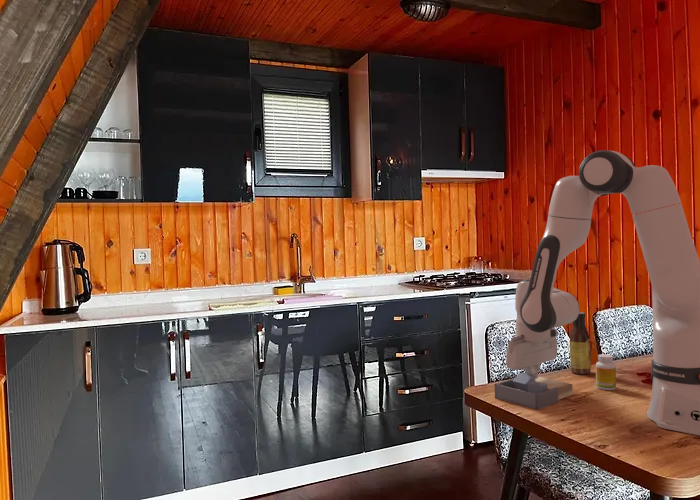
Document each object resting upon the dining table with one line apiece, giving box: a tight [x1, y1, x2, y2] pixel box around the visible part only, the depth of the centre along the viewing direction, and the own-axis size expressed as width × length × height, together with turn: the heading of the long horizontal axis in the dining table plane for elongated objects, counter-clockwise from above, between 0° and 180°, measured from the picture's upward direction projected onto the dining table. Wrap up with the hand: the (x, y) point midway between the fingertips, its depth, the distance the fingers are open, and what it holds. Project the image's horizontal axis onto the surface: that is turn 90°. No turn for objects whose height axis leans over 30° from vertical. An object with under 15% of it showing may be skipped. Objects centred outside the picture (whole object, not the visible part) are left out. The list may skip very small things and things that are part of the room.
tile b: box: [512, 372, 535, 391], centre depth 156 cm, size 4×4×2 cm
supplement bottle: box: [595, 353, 617, 391], centre depth 160 cm, size 5×5×10 cm
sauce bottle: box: [569, 311, 592, 375], centre depth 177 cm, size 7×6×20 cm
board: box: [518, 376, 574, 401], centre depth 157 cm, size 12×8×3 cm
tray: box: [494, 377, 559, 411], centre depth 152 cm, size 14×10×4 cm
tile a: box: [528, 381, 547, 394], centre depth 150 cm, size 4×4×2 cm
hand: (532, 379), depth 159 cm, fingers closed
